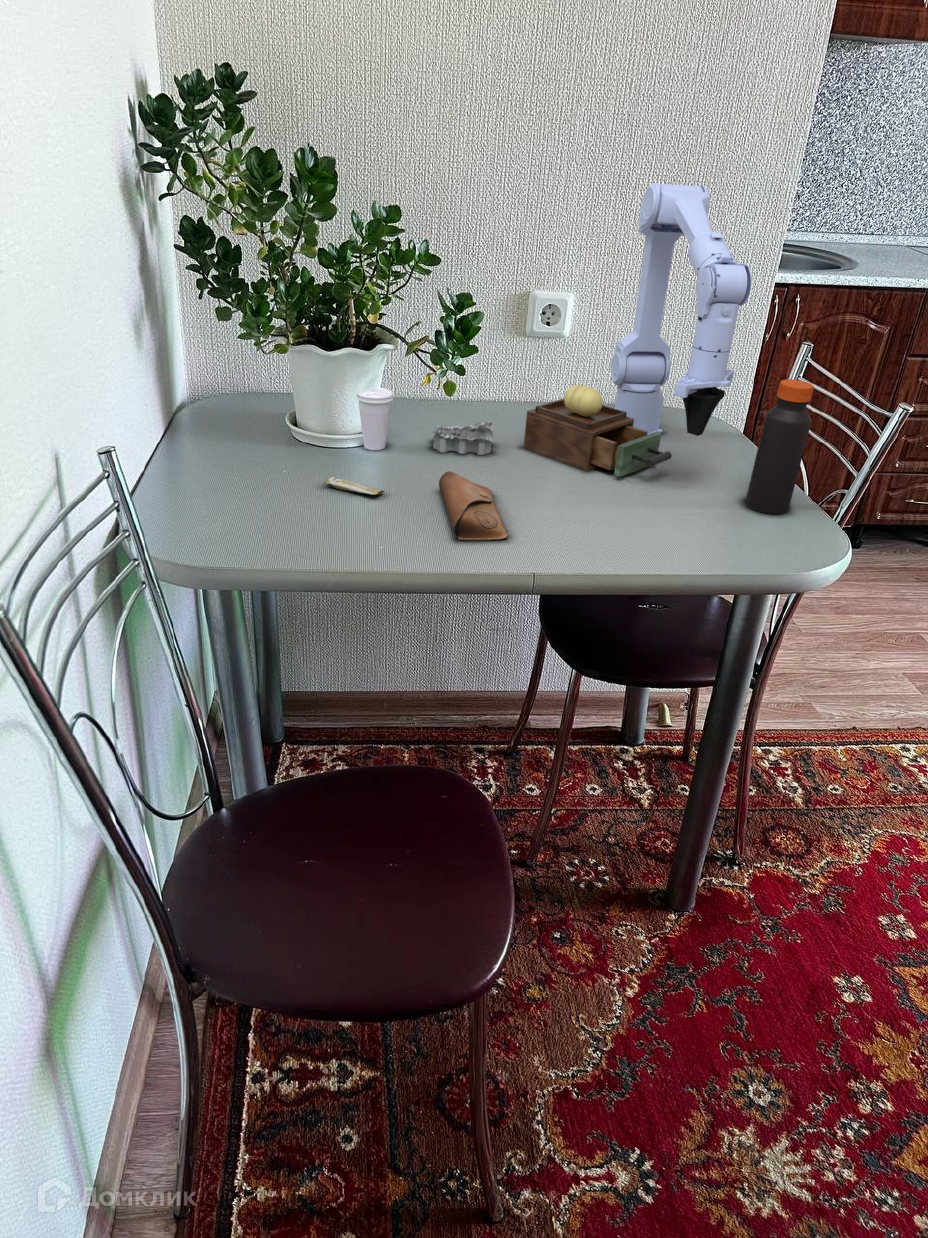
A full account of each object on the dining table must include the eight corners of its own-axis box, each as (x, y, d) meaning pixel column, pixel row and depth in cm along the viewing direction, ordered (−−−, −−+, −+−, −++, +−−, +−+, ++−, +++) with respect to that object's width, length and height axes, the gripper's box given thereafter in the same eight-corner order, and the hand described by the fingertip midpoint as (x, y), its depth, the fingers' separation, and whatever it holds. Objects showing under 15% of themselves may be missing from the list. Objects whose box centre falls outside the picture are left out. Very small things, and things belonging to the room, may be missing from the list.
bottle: (788, 502, 147) (820, 381, 137) (787, 518, 142) (820, 392, 131) (746, 495, 149) (774, 374, 139) (743, 510, 143) (772, 385, 133)
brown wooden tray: (572, 400, 165) (573, 395, 165) (626, 417, 159) (627, 412, 158) (535, 411, 159) (535, 406, 158) (589, 429, 152) (590, 424, 151)
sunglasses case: (512, 537, 128) (491, 499, 125) (469, 560, 129) (447, 524, 126) (490, 488, 144) (471, 453, 140) (451, 509, 144) (432, 475, 141)
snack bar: (384, 489, 140) (376, 489, 137) (383, 499, 140) (374, 499, 138) (332, 475, 143) (322, 475, 140) (330, 485, 144) (320, 484, 141)
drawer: (677, 469, 155) (682, 440, 153) (640, 484, 148) (645, 454, 145) (595, 441, 165) (598, 413, 163) (557, 454, 158) (560, 425, 155)
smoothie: (356, 439, 161) (356, 361, 154) (392, 440, 162) (393, 362, 154) (355, 452, 155) (355, 371, 148) (393, 453, 156) (394, 372, 149)
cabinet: (628, 455, 162) (634, 418, 158) (587, 471, 154) (592, 432, 150) (565, 434, 170) (570, 398, 167) (523, 448, 162) (526, 410, 159)
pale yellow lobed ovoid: (573, 407, 162) (577, 380, 160) (605, 418, 158) (610, 389, 156) (556, 411, 159) (560, 382, 157) (588, 422, 155) (593, 393, 152)
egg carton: (493, 443, 164) (495, 421, 161) (490, 457, 157) (492, 435, 155) (435, 437, 164) (436, 416, 162) (429, 451, 158) (430, 429, 156)
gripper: (710, 360, 130) (692, 449, 137) (758, 346, 140) (739, 431, 147) (668, 349, 134) (653, 437, 141) (717, 337, 144) (701, 419, 151)
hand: (694, 433), depth 144 cm, fingers closed
